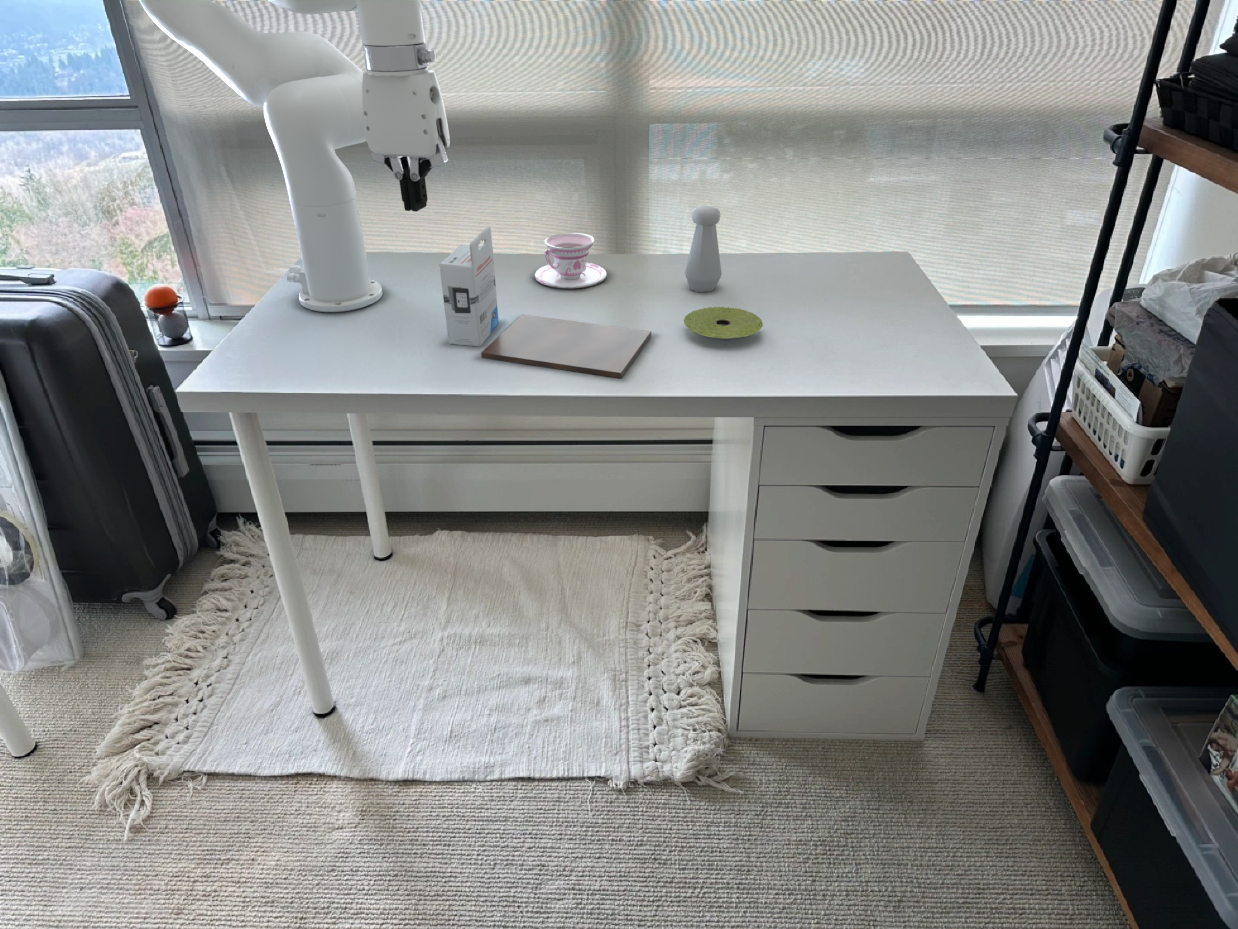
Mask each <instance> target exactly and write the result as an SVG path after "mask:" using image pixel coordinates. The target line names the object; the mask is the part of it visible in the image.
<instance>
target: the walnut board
mask: <svg viewBox="0 0 1238 929" xmlns="http://www.w3.org/2000/svg"><path fill="white" fill-rule="evenodd" d="M651 338H652V331H651V330H644V329H637V328H628V327H621V326H615V325H605V324H599V323H590V322H583V321H575V320H567V319H559V318H551V317H544V316H538V315H537V316H536V315H530V314H521V315H520V316H519V317H518V318H517V319H515V320H514V322H512V323H511V324H510V325H508V327H506V328H505V330H504V331H503V332H502V333H501V334H499V335H498V336H497V337H496V338H495V339H493V341H492V342H491V343H490V344H489V345H487V346H486V347H485V348H484V349H483V350H481V352H480V355H481V358H482V359H487V360H494V361H501V362H506V363H507V362H509V363H515V364H521V365H529V366H533V367H542V368H549V369H555V370H562V371H568V372H575V373H583V374H588V375H596V376H603V377H608V378H609V377H611V378H614V379H615V378H616V379H622V378H623V377H624V375H625V374H626V372H627V371H628V369H629V368H630V367H631V365H632V364H633V362H634V361H635V359H636V358H637V357H638V355H639V354H640V353H641V351H642V350H643V349H644V347H645V346H646V345H647V343H648V342H649V340H650V339H651Z"/></svg>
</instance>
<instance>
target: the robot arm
mask: <svg viewBox="0 0 1238 929" xmlns="http://www.w3.org/2000/svg"><path fill="white" fill-rule="evenodd" d="M138 1H139V3H140V4H141V6H142V8H143V9H144V11H145V12H146V14H147V15H148V16H149V18H150V19H151V20H152V21H153V22H154V23H155V24H156V26H157V27H158V28H159V29H161V30H162V31H163V32H164V33H165V34H166V35H167V36H168V37H170V38H171V39H172V40H174V41H175V42H176V43H178V44H179V45H180V46H182V47H183V48H185V49H186V50H188V51H189V52H191V53H192V54H193V55H195V57H197V58H198V59H199V60H201V61H202V62H203V64H205V65H206V66H207V67H208V68H209V69H210V70H211V71H213V73H214V74H215V75H217V76H218V77H219V78H220V79H221V80H222V81H223V82H224V83H225V84H227V85H228V86H229V87H230V88H231V89H232V90H233V91H234V92H235V93H237V94H238V95H239V96H240V97H241V98H242V99H244V101H246V102H247V103H249V104H251V105H253V106H255V107H259V108H263V117H264V121H265V125H266V128H267V130H268V133H269V135H270V138H271V140H272V143H273V145H274V148H275V151H276V153H277V156H278V159H279V162H280V165H281V170H282V173H283V177H284V180H285V185H286V190H287V195H288V200H289V204H290V208H291V209H290V210H291V214H292V219H293V223H294V228H295V233H296V238H297V243H298V248H299V254H300V257H301V258H300V259H301V263H302V265H295V264H293V265H291V266H290V267H289V269H288V270H289V271H288V272H289V273H288V274H287V275H286V280H287V282H289V283H295V284H298V283H299V284H300V286H301V290H300V291H299V293H298V300H299V303H300V305H301V306H303V307H304V308H305V309H308V310H311V311H313V312H315V311H316V312H321V313H339V312H340V313H341V312H348V311H355V310H359V309H362V308H365V307H368V306H370V305H373V304H374V303H376V302H378V301H379V300H380V299H381V298H382V296H383V287H382V285H381V284H380V283H379V281H377V280H374V279H371V275H370V270H369V264H368V257H367V251H366V246H365V238H364V232H363V226H362V219H361V214H360V209H359V208H360V207H359V202H358V196H357V190H356V185H355V181H354V178H353V176H352V173H351V172H350V170H349V169H348V167H347V166H346V165H345V164H344V162H342V160H341V159H340V158H339V157H338V155H337V152H336V150H337V149H341V148H344V147H350V146H353V145H358V144H362V143H365V142H366V143H367V146H368V149H369V150H370V152H371V154H370V156H371V159H372V161H374V162H377V163H379V164H382V165H386V167H387V168H388V169H389V170H390V171H391V172H392V173H393V176H394V178H395V180H397V181H399V182H398V183H399V189H400V195H401V201H402V202H403V208H404V211H406V212H411V211H412V212H418V211H421V210H422V209H424V208H426V207H427V205H428V190H427V184H426V183H427V182H426V177H428V175H429V173H430V172H431V170H432V169H434V168H438V167H442V166H444V165H447V164H448V163H449V158H448V155H447V152H446V151H447V150H448V149H449V148H450V146H451V138H450V131H449V125H448V119H447V118H448V117H447V113H446V108H445V103H444V99H443V94H442V90H441V87H440V84H439V83H440V82H439V81H438V80H439V79H438V77H437V74H436V72H435V70H432V69H431V70H430V69H429V66H430V65H429V64H430V63H435V62H436V52H435V51H434V50H430V49H428V48H427V47H428V46H427V43H426V42H425V41H426V40H425V39H426V38H425V30H424V22H423V14H422V5H421V0H265V1H267V2H268V3H271V4H273V5H274V6H277V7H280V8H281V9H284V10H287V11H289V12H292V13H296V14H301V15H319V14H321V15H322V14H330V13H340V12H355V11H356V12H357V18H358V24H359V30H360V35H361V36H360V38H361V43H362V52H363V57H364V64H365V71H364V70H362V69H361V68H360V67H359V66H358V65H357V64H355V63H354V61H352V60H351V59H350V58H349V57H348V56H346V55H345V54H344V53H343V52H342V51H341V50H339V49H338V48H337V47H336V46H335V45H334V44H332V43H331V42H330V41H329V40H327V38H325V37H323V36H321V35H320V34H316V33H315V32H310V31H306V30H296V31H295V30H294V31H293V30H292V31H285V32H262V31H259V30H257V29H256V28H254V27H253V26H251V24H249V23H248V22H247V21H246V20H245V19H244V18H243V17H242V16H240V15H239V14H238V13H236V12H235V11H233V10H232V9H230V8H228V7H226V6H224V5H222V4H219V3H218V2H215V1H214V0H138Z"/></svg>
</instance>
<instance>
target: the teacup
mask: <svg viewBox="0 0 1238 929" xmlns="http://www.w3.org/2000/svg"><path fill="white" fill-rule="evenodd" d="M594 242H595V238H594V237H593V236H592V235H591V234H588V233H583V232H561V233H557V234H553V235H550V236H548V237H546V238H545V239H544V242H543V243H544V244H545V245H546V246H545V247H546V248H547V249H546V251H544V254H545V259H546V263H547V264H546V265H543V266H541V267H539V268H538V269H537V270H536V271H535V273H534V278H535V280H536V281H537V282H539V283H540V284H541V285H544V286H548V287H550V288H558V289H579V288H588V287H591V286H595V285H597V284H600V283H602V282H603V281H604V280H606V278H607V271H606V269H605V268H604V267H602V266H600V265H599V264H595V263H592V262H587V256H588V255H589V254H590V252H589V250H590V249H591V248H592V246H593V245H594ZM550 255H551V256H552V257H553V263H552V261H551V258H550Z"/></svg>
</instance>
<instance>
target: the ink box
mask: <svg viewBox="0 0 1238 929" xmlns="http://www.w3.org/2000/svg"><path fill="white" fill-rule="evenodd" d="M481 242H483V244H482V245H480V244H481ZM438 266H439V274H440V281H441V289H442V297H443V298H442V299H443V306H444V315H445V323H446V331H447V332H446V333H447V339H448V344H450V345H460V346H470V347H471V346H473V347H481V346H482V345H483V344H484V343H485V342H486V340H487V339H488V338H489V336H491V334H492V332H493V331H494V330H495V328H496V327H497V326H498V324H499V323H500V322H499V310H498V297H497V284H496V272H495V259H494V247H493V238H492V230H491V226H490V225H487V227H486V228H485V229H484V230H482V231H481V232H480V233H479V234H478V235H477V236H476V237H475V238H474V239H473V240H471V242H470V243H469V244H463V243H461V244H459V246H458V247H456V249H454V250H453V251H452V252H451V253H449V255H448V256H446V258H444V259H443V260H442V261H441V262H440V263H439V264H438Z"/></svg>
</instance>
